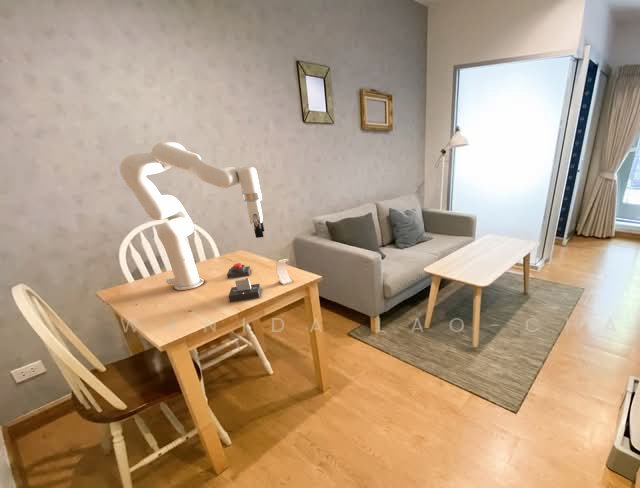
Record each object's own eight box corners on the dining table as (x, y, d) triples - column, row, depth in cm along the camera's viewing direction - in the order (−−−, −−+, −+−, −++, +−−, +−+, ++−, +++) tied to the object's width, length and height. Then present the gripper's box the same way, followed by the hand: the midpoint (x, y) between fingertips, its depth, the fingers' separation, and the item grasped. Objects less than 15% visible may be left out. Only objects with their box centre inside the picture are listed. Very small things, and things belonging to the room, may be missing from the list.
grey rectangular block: (237, 291, 147) (234, 280, 144) (238, 289, 148) (235, 279, 146) (250, 289, 148) (248, 279, 146) (251, 287, 149) (248, 277, 147)
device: (229, 302, 144) (228, 296, 142) (233, 292, 152) (231, 286, 151) (259, 298, 147) (257, 291, 145) (260, 289, 155) (259, 283, 154)
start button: (233, 269, 168) (232, 266, 168) (234, 266, 172) (234, 263, 171) (241, 268, 169) (240, 265, 169) (242, 266, 173) (241, 262, 172)
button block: (228, 278, 167) (226, 271, 166) (230, 272, 174) (228, 265, 173) (249, 275, 170) (247, 268, 168) (250, 270, 177) (249, 263, 175)
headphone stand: (283, 284, 159) (278, 261, 154) (278, 280, 163) (273, 258, 158) (292, 282, 162) (288, 259, 156) (287, 278, 166) (283, 255, 161)
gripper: (244, 194, 151) (253, 230, 159) (241, 201, 137) (250, 240, 144) (262, 193, 154) (269, 228, 161) (260, 199, 139) (268, 238, 146)
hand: (260, 234), depth 152 cm, fingers open, 9 cm apart
